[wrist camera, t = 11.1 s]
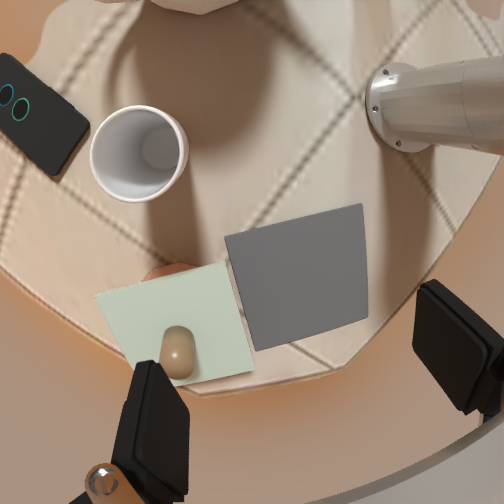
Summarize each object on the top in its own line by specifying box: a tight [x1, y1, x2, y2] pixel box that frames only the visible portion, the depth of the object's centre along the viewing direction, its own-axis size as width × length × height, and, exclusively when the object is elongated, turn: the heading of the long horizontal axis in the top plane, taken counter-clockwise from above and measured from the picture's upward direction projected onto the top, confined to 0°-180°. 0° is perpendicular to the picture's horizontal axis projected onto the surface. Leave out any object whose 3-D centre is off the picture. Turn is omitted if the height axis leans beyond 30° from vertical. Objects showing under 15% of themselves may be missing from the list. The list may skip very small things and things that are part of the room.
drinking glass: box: [90, 105, 189, 203], centre depth 25 cm, size 7×7×15 cm
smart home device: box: [0, 53, 90, 176], centre depth 26 cm, size 8×2×20 cm
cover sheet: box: [95, 261, 256, 387], centre depth 31 cm, size 15×15×6 cm
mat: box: [225, 203, 368, 351], centre depth 40 cm, size 18×18×1 cm
